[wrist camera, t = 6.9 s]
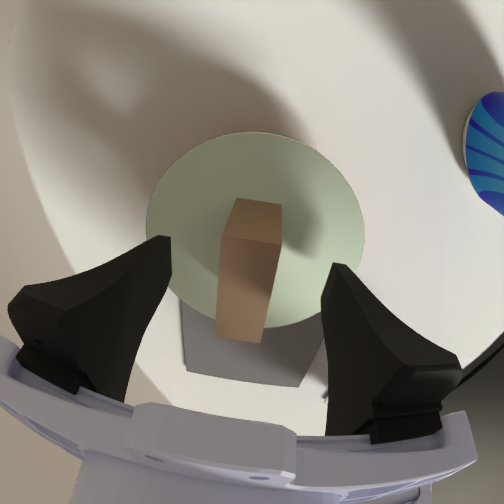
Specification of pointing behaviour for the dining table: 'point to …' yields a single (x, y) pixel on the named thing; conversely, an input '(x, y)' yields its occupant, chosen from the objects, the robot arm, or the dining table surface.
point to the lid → (255, 230)
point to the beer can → (486, 149)
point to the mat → (251, 350)
